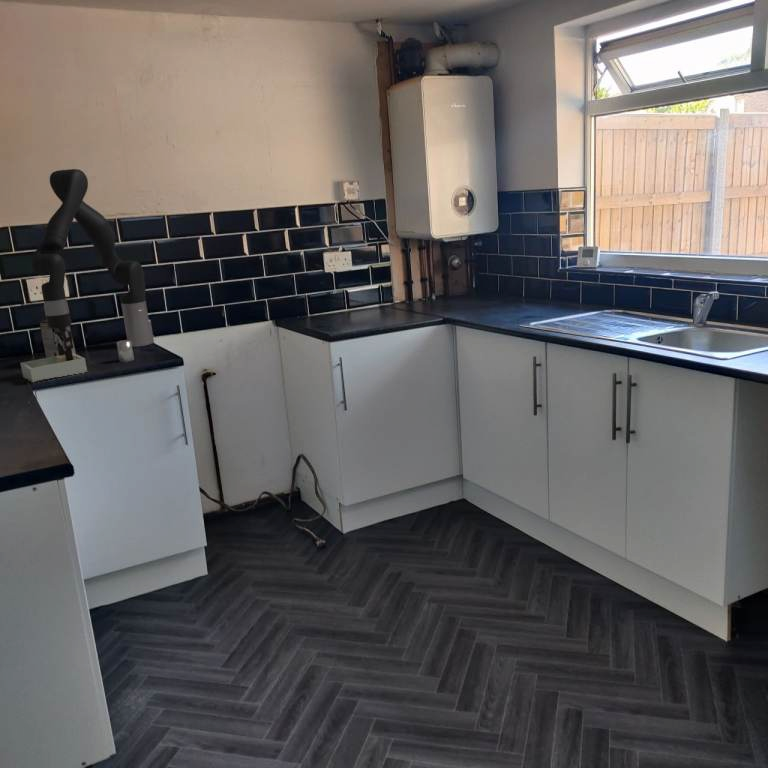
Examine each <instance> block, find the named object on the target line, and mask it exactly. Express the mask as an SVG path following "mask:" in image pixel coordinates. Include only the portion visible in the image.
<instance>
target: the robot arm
mask: <svg viewBox="0 0 768 768" xmlns="http://www.w3.org/2000/svg"><path fill="white" fill-rule="evenodd" d="M49 184H50V187H51V189H52V191H53V192H54V194H55V196H56V197H57V198H58V199H59V200H60V202H61V204H60V206H59V208H58V209H57V210H56V211H55V212H54V213H53V214H52V216H51V218H50V219H49V220H48V222H47V225H46V227H45V232H44V235H43V238H42V241H40V244H39V245H38V246H37V249H36V250H35V251H34V254H33V255H32V257H31V261H30V263H31V265H30V266H31V269H32V271H33V272H34V273H35V274H37V275H38V276H49V277H48V278H49V279H48V281H47V282H45V283H43V284H41V287H40V288H41V293H42V298H43V309H44V312H45V313H44V314H45V320H47V324H48V327H49V328H52V333H53V338H54V344H55V345H56V347H58V353H59V356H60V355H65V357H66V361H71V360H73V355H72V348H73V343H72V338H71V332H72V331H71V332H70V331H67V329H66V327H67V326H70V327H71V325H72V319H71V318H72V317H71V314H70V309H69V308H70V307H69V304H68V301H67V296H66V290H65V279H66V277H65V276H66V263H65V260H64V259H63V257H62V256H61V255H60V254H58V253H59V252H62V251H63V250H65V247H66V244H67V241H68V236H69V233H70V229H71V226H72V224H73V221H74V220H75V221H76V223H78V225H79V226H80V228H81V229H82V231H83V232H84V234H85V236H86V237H87V239H88V240H89V242H90V243H91V244H92V246H93V247H94V249H95V250H96V252H97V253H98V255H99V257H100V258H101V260H102V262H103V263H104V265H105V267H106V270H107V271H108V273H109V275H110V276H111V278H112V279H113V282H115V283H116V284H117V285H120V286H129V289H128V290H129V291H128V292H126V293H124V294H122V295H121V296H120V303H121V309H122V316H123V321H124V323H123V324H124V328H125V333H126V340H131V344H132V348H135V347H136V348H137V347H144V346H148V345H149V346H150V345H152V344H155V340H154V333H153V326H152V321H151V319H150V318H149V314H148V307H147V301H146V292H147V291H146V290H147V289H146V282H145V281H146V280H145V273H144V268H143V266H142V265H141V263H140V262H139V261H137V260H124V261H122V260H121V259H120V258H119V256H118V254H117V253H116V250H115V246H116V244H115V243H116V234H115V232H114V231H115V230H114V229H113V228H112V226H111V224H110V223H109V221H108V220H107V219H106V217H104V215H103V214H101V213H100V212H99V211H97V210H96V209H94V208H93V207H91V206H90V205H89V204H87V203H86V202H85V201H84V198H85V196H86V194H87V191H88V187H89V181H88V177H87V175H86V174H85V172H84V171H82V170H81V169H79V168H71V169H59V170H55V171H53V172H51V174H50V176H49ZM67 344H68V346H67Z"/></svg>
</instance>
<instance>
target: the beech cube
mask: <svg viewBox="0 0 768 768" xmlns="http://www.w3.org/2000/svg"><path fill="white" fill-rule="evenodd" d="M72 355H73V360H76V356H75V355H74V354H72ZM56 357H57V362H58V363H61V362H66V357H65V355H60V356H56Z"/></svg>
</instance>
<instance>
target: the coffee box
mask: <svg viewBox="0 0 768 768" xmlns="http://www.w3.org/2000/svg"><path fill="white" fill-rule="evenodd" d="M38 324H39V329H40V333H41V338H42V342H43V348H44V353H45V358H49V357H54V356H59V353H58V347H56V345H55V344H54V338H53V333H52V328H49V327H48V324H47V319H45V320H42V321H41V320H40V321H39V322H38ZM66 329H67V331H70V332H71V338H72V343H73V348H72V353H74V354H77V353H76V347H75V343H74V342H75V341H74V338H73V332H72V328H71V325H70V326H67V327H66ZM67 346H68V344H67Z"/></svg>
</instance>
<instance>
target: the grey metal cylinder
mask: <svg viewBox="0 0 768 768" xmlns="http://www.w3.org/2000/svg"><path fill="white" fill-rule="evenodd" d="M116 347H117V352H118V359H119V362H121V363H126V362H131V361H134V360H135V357H134V356H135V355H134V351H133V350H134V349H133V347H132V344H131V340H127V339H125V340H119V341H116Z"/></svg>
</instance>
